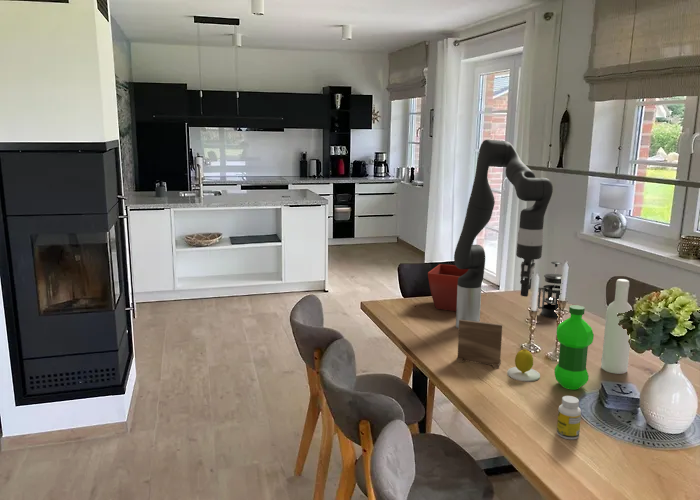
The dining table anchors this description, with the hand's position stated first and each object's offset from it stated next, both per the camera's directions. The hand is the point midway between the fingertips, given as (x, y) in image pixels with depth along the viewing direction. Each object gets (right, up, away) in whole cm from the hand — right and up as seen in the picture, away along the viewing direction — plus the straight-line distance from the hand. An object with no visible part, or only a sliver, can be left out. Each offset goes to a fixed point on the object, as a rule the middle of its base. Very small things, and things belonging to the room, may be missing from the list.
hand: (525, 292), depth 180 cm
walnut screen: (-12, -24, +11) cm, 29 cm away
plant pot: (-10, -12, +73) cm, 74 cm away
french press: (+30, -14, +62) cm, 71 cm away
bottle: (+31, -26, +6) cm, 40 cm away
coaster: (0, -26, +1) cm, 26 cm away
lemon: (0, -26, +1) cm, 26 cm away
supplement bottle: (0, -34, -35) cm, 49 cm away
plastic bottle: (+12, -28, -7) cm, 31 cm away
